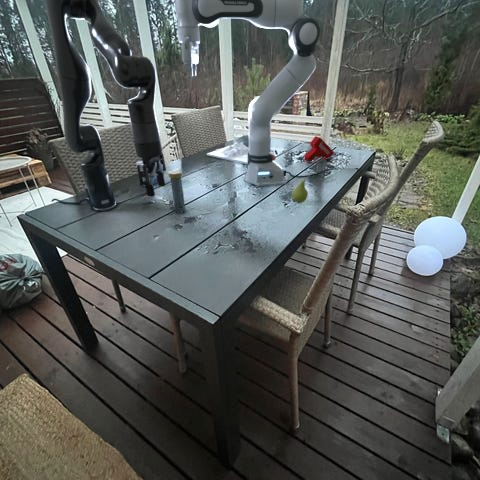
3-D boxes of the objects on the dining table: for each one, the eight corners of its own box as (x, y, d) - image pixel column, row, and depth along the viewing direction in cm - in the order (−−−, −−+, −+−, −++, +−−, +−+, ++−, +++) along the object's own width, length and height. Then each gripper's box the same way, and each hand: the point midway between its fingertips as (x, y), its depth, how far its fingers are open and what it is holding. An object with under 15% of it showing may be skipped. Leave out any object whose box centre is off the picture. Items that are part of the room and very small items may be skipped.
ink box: (155, 180, 146) (151, 158, 140) (159, 182, 143) (156, 160, 136) (140, 184, 141) (135, 161, 134) (145, 186, 138) (140, 163, 131)
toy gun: (305, 158, 165) (319, 136, 162) (300, 157, 168) (315, 135, 166) (320, 172, 177) (334, 152, 174) (316, 170, 180) (329, 151, 177)
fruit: (288, 200, 123) (290, 174, 116) (302, 197, 125) (305, 172, 119) (296, 206, 118) (299, 179, 111) (310, 203, 120) (314, 177, 114)
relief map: (248, 164, 168) (248, 156, 165) (206, 155, 186) (206, 147, 183) (271, 154, 186) (271, 146, 183) (231, 147, 204) (231, 140, 201)
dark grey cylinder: (174, 210, 115) (168, 172, 106) (184, 208, 117) (179, 170, 108) (176, 214, 112) (170, 175, 103) (186, 212, 113) (181, 173, 104)
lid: (167, 174, 107) (166, 171, 106) (180, 173, 109) (179, 169, 108) (170, 179, 103) (169, 175, 102) (183, 177, 105) (183, 173, 104)
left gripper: (145, 133, 85) (154, 182, 94) (122, 144, 73) (135, 199, 82) (168, 133, 84) (175, 183, 93) (149, 144, 73) (159, 200, 81)
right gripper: (192, 34, 104) (196, 76, 111) (199, 39, 121) (202, 75, 128) (176, 34, 104) (180, 76, 111) (185, 39, 121) (189, 75, 128)
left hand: (156, 190), depth 88 cm, fingers open, 8 cm apart
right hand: (192, 76), depth 120 cm, fingers open, 8 cm apart
